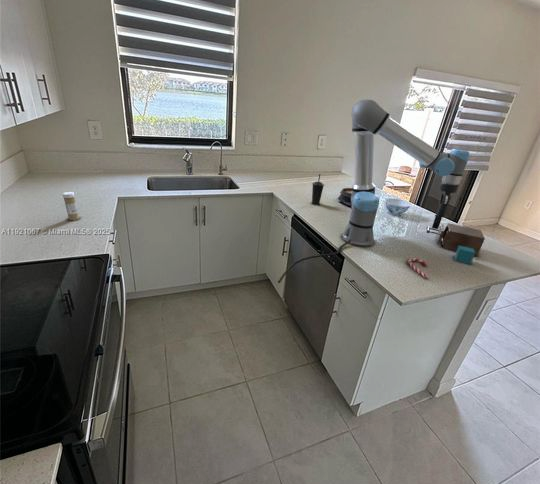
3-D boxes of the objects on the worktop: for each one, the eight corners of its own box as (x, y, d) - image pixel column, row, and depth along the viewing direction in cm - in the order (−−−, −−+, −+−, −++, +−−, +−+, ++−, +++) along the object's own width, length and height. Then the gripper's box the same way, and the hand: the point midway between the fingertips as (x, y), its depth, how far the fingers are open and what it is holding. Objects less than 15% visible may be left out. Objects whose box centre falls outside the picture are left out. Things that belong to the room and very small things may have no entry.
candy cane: (418, 275, 116) (405, 256, 130) (417, 277, 117) (404, 259, 131) (437, 277, 116) (422, 258, 130) (436, 279, 117) (421, 260, 130)
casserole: (333, 196, 210) (335, 185, 207) (358, 197, 211) (361, 186, 208) (342, 208, 188) (344, 195, 184) (370, 210, 189) (373, 197, 185)
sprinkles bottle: (78, 216, 146) (72, 190, 141) (80, 219, 143) (74, 193, 138) (67, 218, 144) (61, 192, 138) (69, 221, 141) (62, 194, 135)
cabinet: (443, 248, 144) (449, 230, 140) (441, 239, 154) (447, 223, 149) (477, 256, 139) (485, 238, 134) (473, 246, 148) (480, 229, 144)
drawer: (423, 241, 147) (428, 227, 144) (423, 234, 156) (428, 221, 153) (467, 251, 140) (473, 237, 137) (464, 243, 149) (470, 229, 146)
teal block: (470, 264, 131) (475, 252, 128) (455, 260, 133) (459, 249, 130) (468, 260, 134) (473, 248, 132) (454, 256, 137) (458, 245, 134)
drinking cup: (313, 201, 197) (317, 172, 188) (323, 204, 193) (328, 174, 184) (307, 203, 191) (311, 173, 183) (317, 206, 187) (322, 176, 179)
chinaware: (411, 219, 179) (414, 207, 176) (387, 217, 179) (390, 205, 175) (401, 210, 192) (404, 199, 189) (379, 208, 192) (382, 197, 189)
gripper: (460, 187, 131) (443, 234, 141) (457, 181, 142) (442, 225, 152) (442, 184, 134) (427, 230, 144) (440, 179, 145) (426, 222, 154)
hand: (434, 228), depth 148 cm, fingers closed
